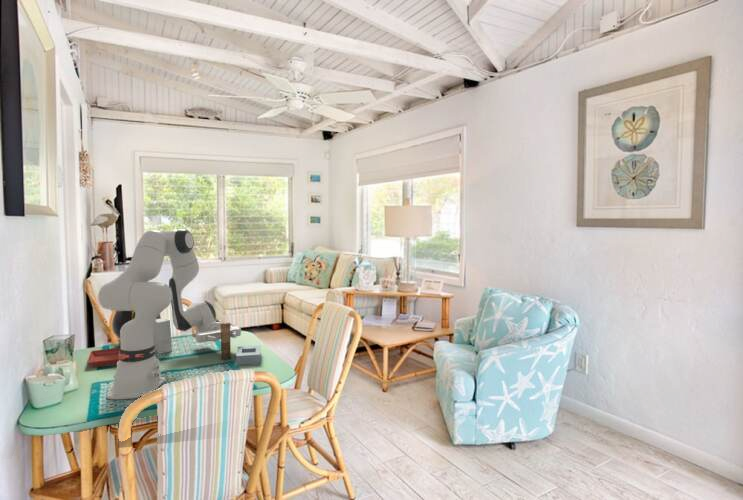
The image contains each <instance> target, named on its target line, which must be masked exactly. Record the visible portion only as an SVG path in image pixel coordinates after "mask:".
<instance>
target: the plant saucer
mask: <svg viewBox="0 0 743 500" xmlns="http://www.w3.org/2000/svg"><path fill="white" fill-rule="evenodd" d="M120 348H121V347H115V348H106V349H99V350H91V351H90V352H89V356H88V359H87V361H86V362H87V364H88V366H90V367H92V368H99V367H107V366H113V365H114V366H115V365H116V366H117V362H118V361H119V359H118V356H119V351H120Z"/></svg>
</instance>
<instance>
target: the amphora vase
mask: <svg viewBox="0 0 743 500" xmlns="http://www.w3.org/2000/svg"><path fill="white" fill-rule="evenodd" d="M134 318H135V311H115V313H114V315H113V318H112V323H111V328H112V332H113V334H114V335H115V336H116V338H118V339H119V342H118V345H119V346H120V347H121V340H120V330H121V328H122V326H123V325H124V324H125V323H127V322H128V321H130V320H132V319H134ZM157 319H161V313H160V314H159V315H158V317H157ZM153 344H154V342H153Z"/></svg>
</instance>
